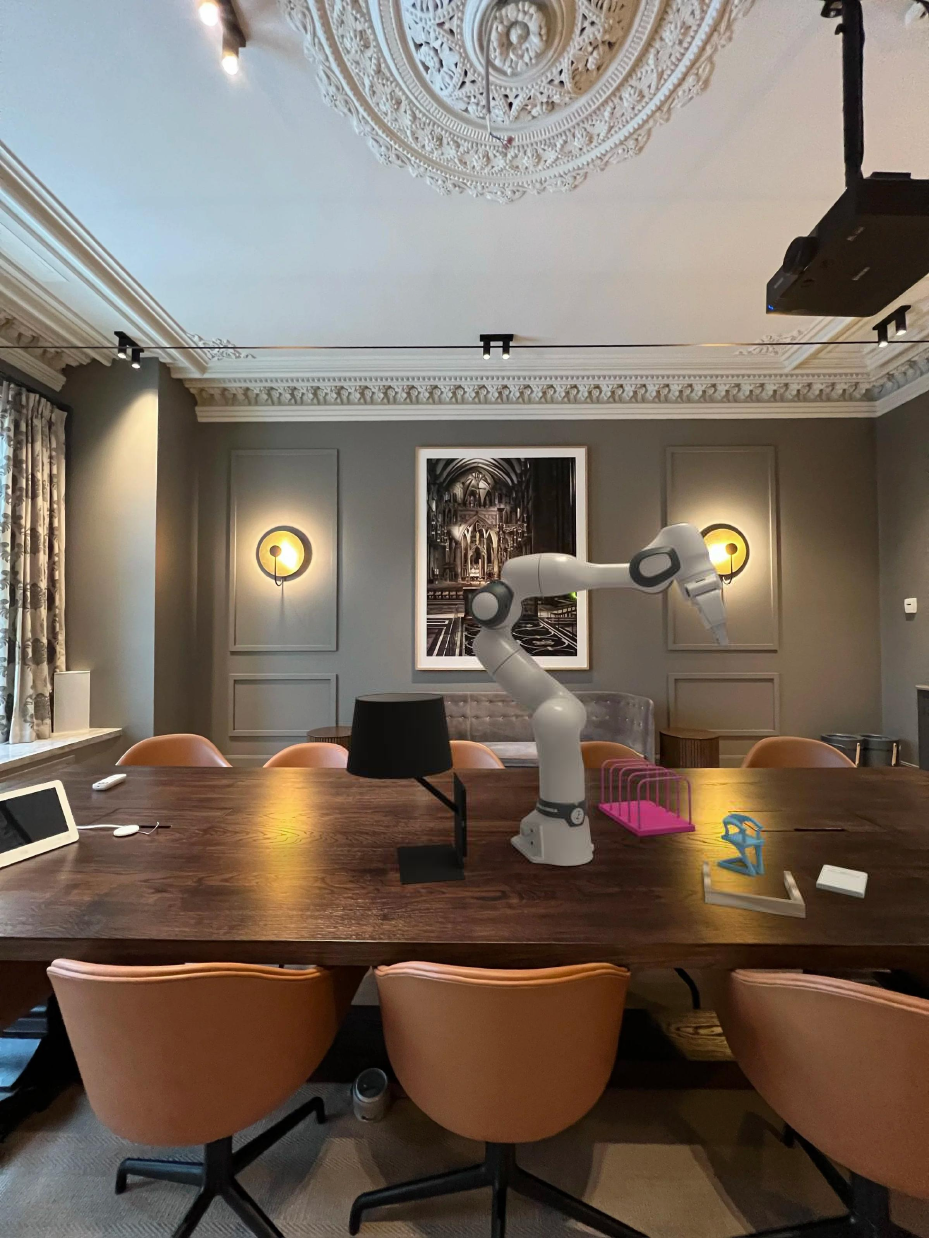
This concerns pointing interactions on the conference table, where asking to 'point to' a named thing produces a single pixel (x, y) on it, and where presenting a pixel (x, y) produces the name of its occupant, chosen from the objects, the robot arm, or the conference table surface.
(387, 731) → the table lamp
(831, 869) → the external hard drive
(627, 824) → the file sorter
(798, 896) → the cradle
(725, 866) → the chair
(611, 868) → the conference table surface
